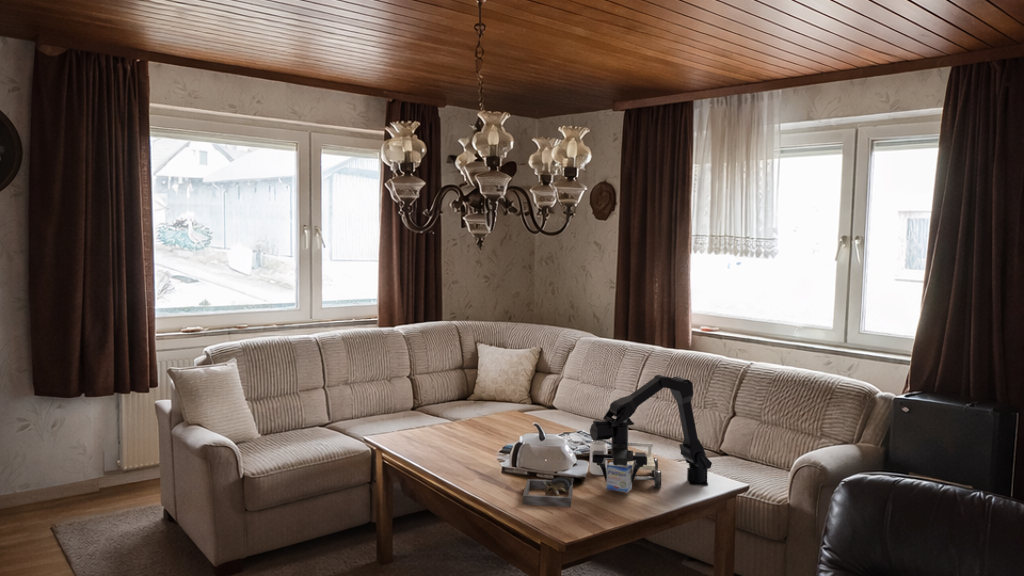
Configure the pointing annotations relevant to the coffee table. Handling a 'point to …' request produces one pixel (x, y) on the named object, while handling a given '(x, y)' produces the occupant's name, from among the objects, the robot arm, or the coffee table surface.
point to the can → (594, 446)
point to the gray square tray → (545, 499)
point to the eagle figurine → (557, 485)
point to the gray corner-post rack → (648, 464)
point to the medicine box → (619, 477)
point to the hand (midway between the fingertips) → (619, 481)
